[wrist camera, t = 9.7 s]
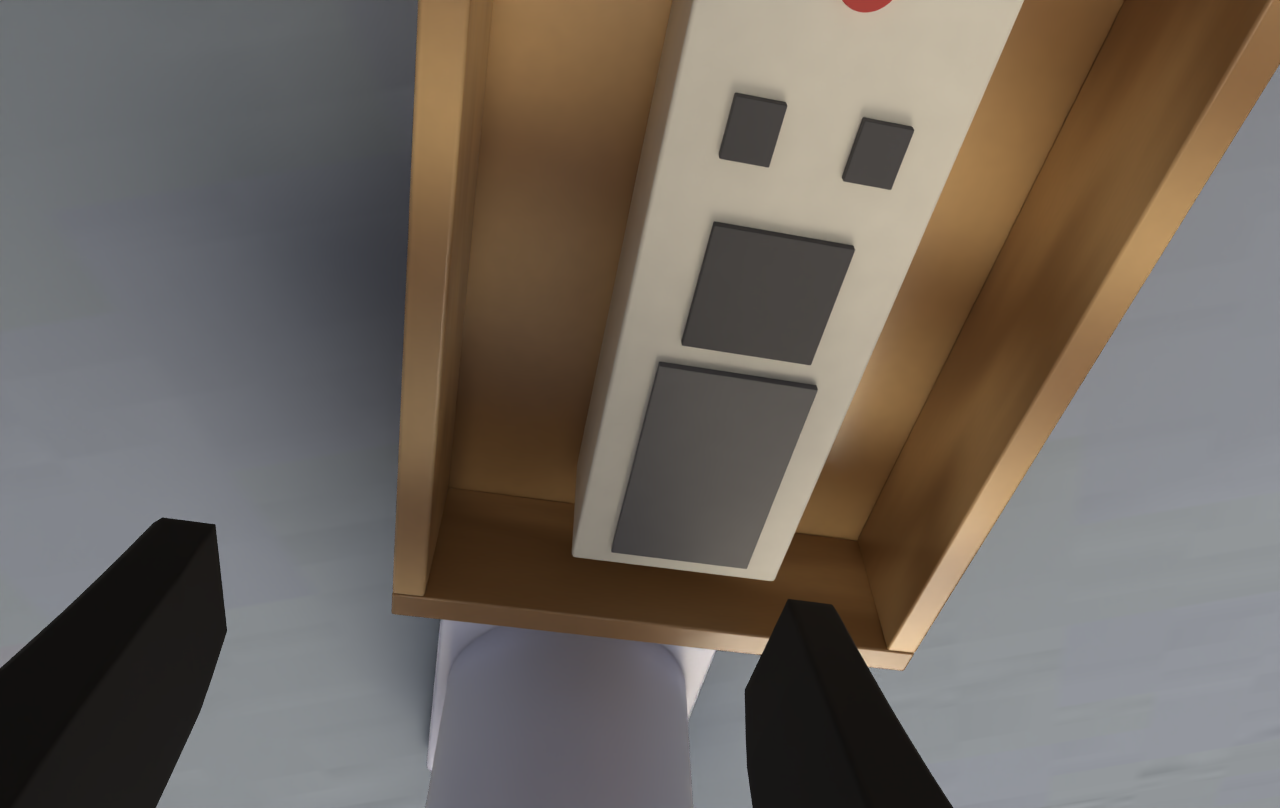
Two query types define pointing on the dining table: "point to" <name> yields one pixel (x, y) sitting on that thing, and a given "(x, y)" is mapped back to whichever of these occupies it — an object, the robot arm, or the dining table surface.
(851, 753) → the robot arm
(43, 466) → the dining table surface
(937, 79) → the remote
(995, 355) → the tidy box
